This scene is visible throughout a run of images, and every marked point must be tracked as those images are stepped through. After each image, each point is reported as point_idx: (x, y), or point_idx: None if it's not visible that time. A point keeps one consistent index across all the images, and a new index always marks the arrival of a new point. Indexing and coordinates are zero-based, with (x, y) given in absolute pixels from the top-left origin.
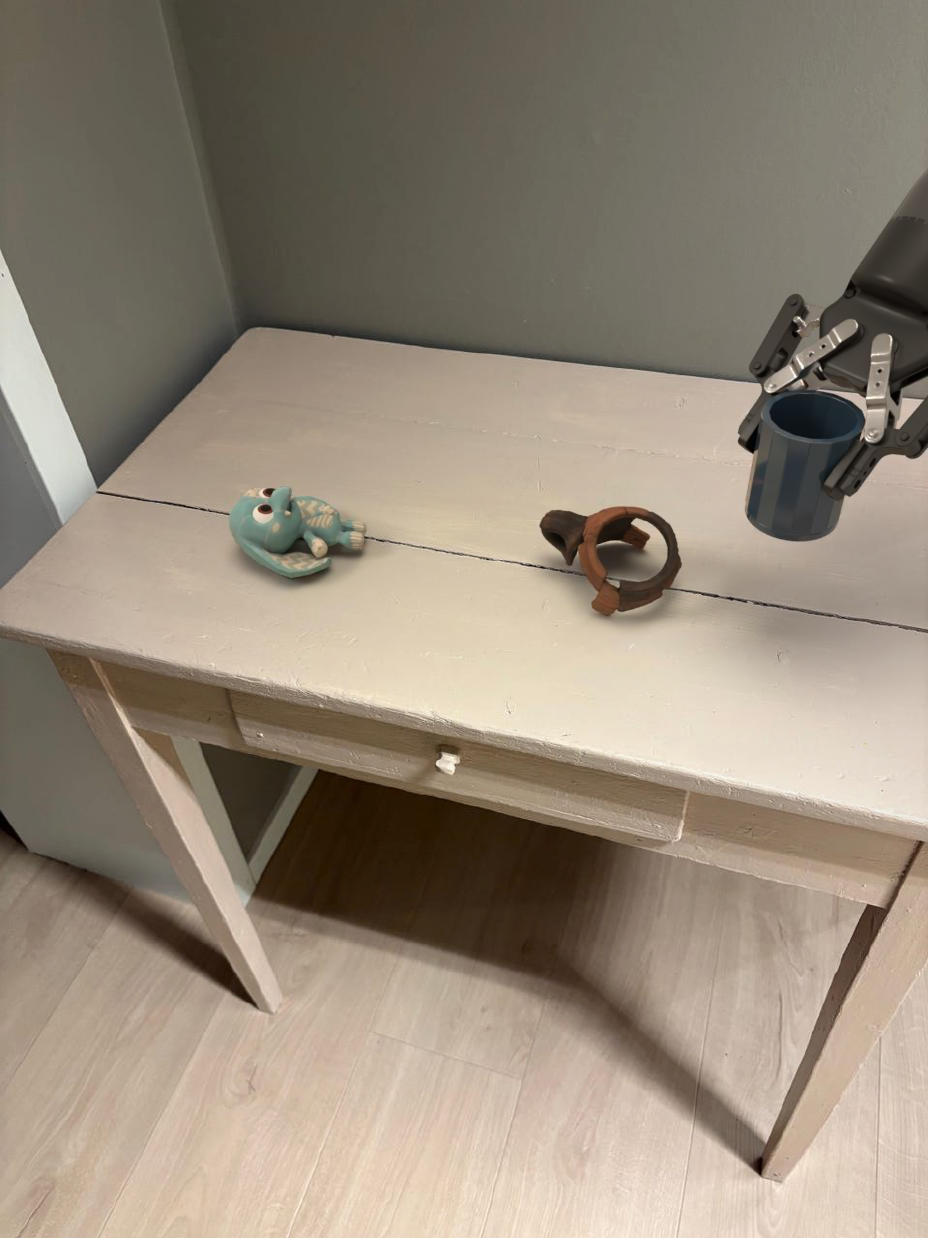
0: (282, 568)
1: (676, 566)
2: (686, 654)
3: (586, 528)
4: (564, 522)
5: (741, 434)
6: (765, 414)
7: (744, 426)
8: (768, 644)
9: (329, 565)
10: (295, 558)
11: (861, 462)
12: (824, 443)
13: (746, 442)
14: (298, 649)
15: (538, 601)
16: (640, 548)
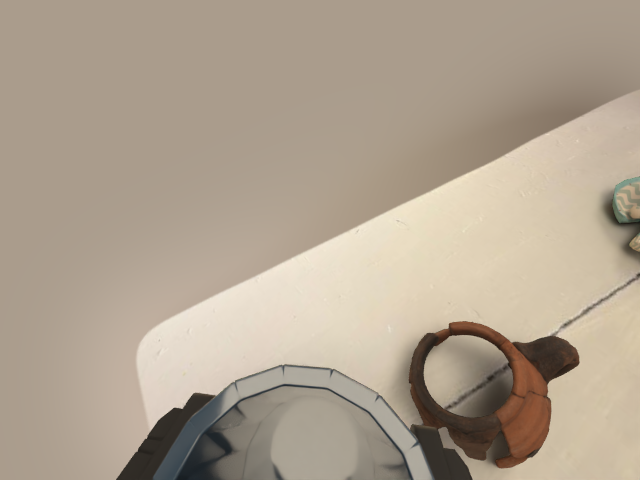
0: (623, 183)
1: (423, 412)
2: (350, 355)
3: (524, 358)
4: (547, 347)
5: (437, 434)
6: (395, 423)
7: (456, 469)
8: None
9: (618, 221)
10: (636, 202)
11: (134, 473)
12: (205, 406)
13: (414, 426)
14: (533, 169)
15: (484, 314)
16: (496, 459)
